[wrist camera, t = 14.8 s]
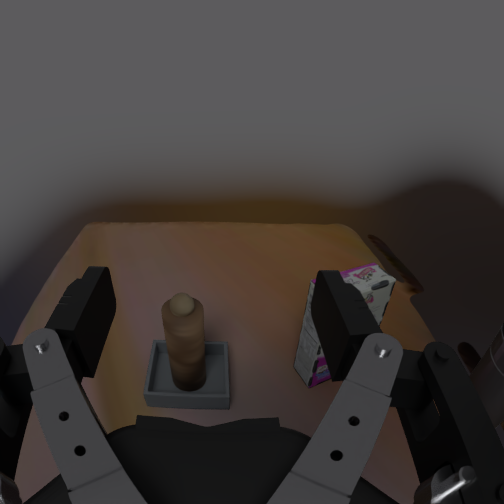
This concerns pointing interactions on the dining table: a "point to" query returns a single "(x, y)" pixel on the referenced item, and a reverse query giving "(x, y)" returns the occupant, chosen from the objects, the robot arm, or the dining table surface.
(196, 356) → the pepper mill
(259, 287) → the dining table surface
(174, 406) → the tray
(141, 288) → the dining table surface
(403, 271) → the dining table surface
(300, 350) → the candy bar box
